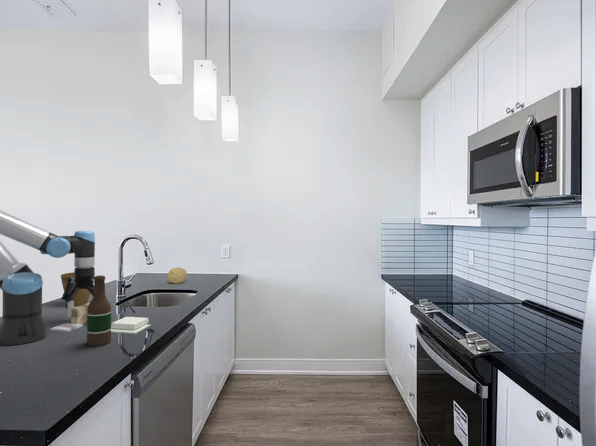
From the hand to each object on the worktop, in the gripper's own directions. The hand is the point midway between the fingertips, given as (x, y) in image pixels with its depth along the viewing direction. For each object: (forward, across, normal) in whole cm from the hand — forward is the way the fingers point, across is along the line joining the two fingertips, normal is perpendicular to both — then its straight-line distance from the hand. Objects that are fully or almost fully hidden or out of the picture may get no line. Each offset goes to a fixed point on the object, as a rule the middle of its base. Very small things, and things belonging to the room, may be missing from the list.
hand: (84, 317), depth 159 cm
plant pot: (+2, +24, -26) cm, 35 cm away
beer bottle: (+2, -24, +23) cm, 33 cm away
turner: (+2, 0, +4) cm, 4 cm away
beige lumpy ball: (+2, +6, -97) cm, 97 cm away
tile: (0, -24, -1) cm, 24 cm away
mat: (+2, -24, +6) cm, 25 cm away
